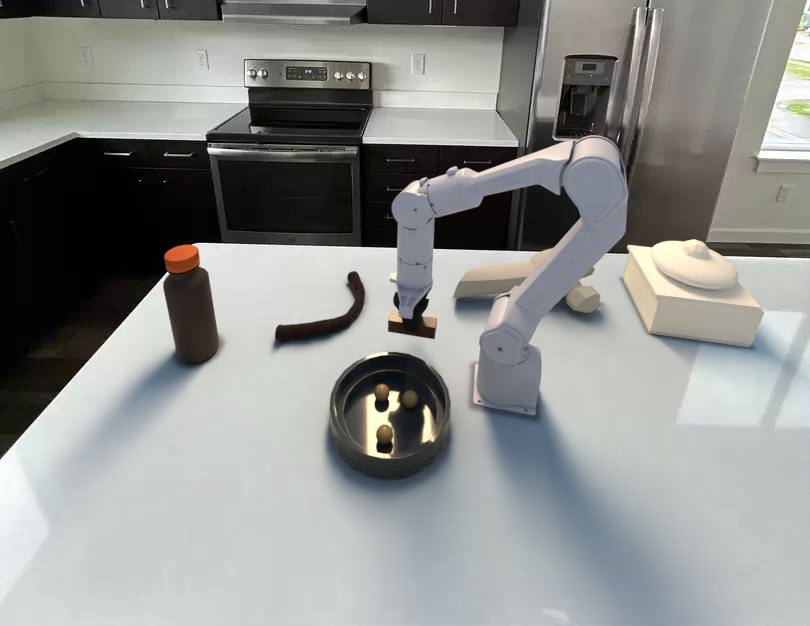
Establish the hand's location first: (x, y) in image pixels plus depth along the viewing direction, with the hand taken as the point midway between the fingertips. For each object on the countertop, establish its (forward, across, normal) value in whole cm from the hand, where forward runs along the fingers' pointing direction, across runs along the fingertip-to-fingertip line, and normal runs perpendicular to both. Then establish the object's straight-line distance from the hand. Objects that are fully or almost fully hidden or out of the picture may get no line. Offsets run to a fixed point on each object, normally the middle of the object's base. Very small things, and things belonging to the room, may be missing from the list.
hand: (412, 323), depth 72 cm
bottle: (+8, +7, -37) cm, 38 cm away
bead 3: (+7, +10, +2) cm, 12 cm away
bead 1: (+7, +9, -3) cm, 12 cm away
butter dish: (+8, -25, +52) cm, 58 cm away
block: (+1, 0, 0) cm, 1 cm away
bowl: (+7, +12, -1) cm, 14 cm away
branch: (+8, -8, -19) cm, 22 cm away
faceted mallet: (+8, -22, +20) cm, 30 cm away
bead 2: (+7, +16, -1) cm, 17 cm away
